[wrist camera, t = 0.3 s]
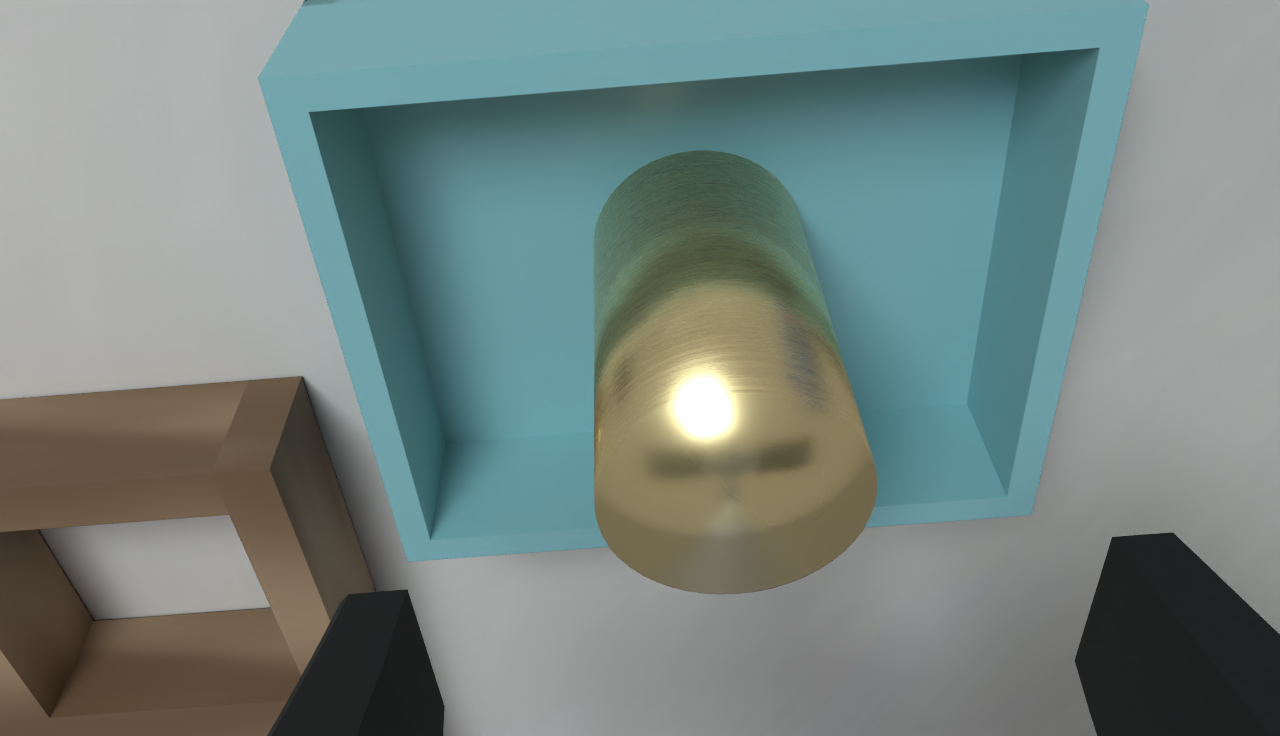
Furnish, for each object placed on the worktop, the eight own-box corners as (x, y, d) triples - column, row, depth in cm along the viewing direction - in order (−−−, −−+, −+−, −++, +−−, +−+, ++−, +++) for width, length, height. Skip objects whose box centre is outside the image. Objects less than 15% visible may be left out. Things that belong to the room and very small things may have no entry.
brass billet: (799, 321, 19) (868, 584, 14) (603, 336, 19) (607, 603, 14) (804, 142, 17) (888, 382, 12) (583, 159, 17) (579, 405, 12)
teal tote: (982, 403, 21) (1031, 515, 19) (428, 446, 21) (407, 562, 19) (1063, -69, 15) (1148, 5, 13) (308, -6, 15) (257, 77, 13)
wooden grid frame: (447, 798, 29) (436, 889, 27) (-90, 837, 29) (-139, 930, 27) (301, 376, 20) (270, 469, 18) (-484, 437, 20) (-601, 535, 18)
